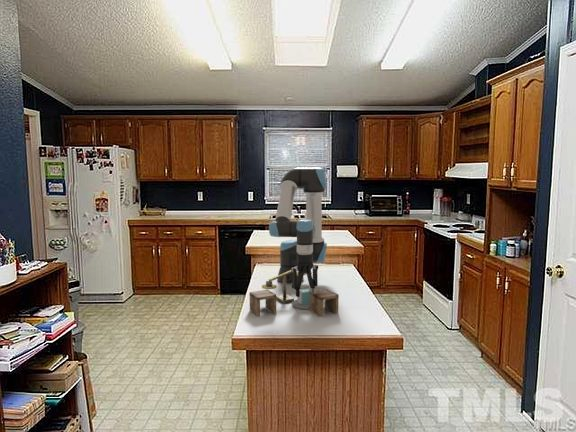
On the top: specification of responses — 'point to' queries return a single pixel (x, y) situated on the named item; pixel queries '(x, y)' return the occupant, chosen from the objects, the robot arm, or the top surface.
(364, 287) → the top surface
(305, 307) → the dish
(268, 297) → the cover
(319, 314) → the cover
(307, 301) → the block
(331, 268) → the top surface
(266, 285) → the balance
